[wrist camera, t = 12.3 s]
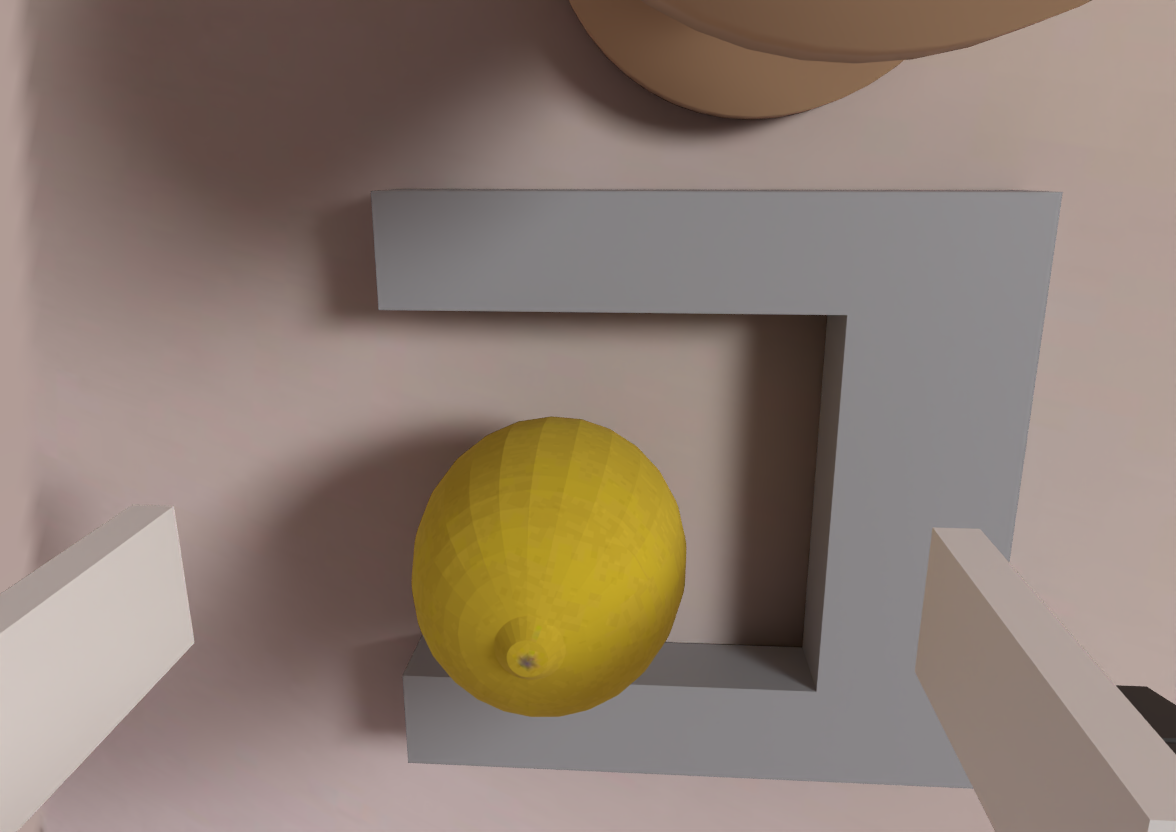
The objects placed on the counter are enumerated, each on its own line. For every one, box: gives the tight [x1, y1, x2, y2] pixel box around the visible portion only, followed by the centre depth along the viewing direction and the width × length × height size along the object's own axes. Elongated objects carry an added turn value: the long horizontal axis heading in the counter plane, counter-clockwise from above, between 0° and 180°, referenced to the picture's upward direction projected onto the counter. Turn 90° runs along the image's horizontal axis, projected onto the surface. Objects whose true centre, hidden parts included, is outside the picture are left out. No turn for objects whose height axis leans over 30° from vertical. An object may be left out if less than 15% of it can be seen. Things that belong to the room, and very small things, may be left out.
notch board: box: [371, 189, 1063, 789], centre depth 21 cm, size 14×14×2 cm
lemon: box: [412, 417, 686, 717], centre depth 18 cm, size 6×6×8 cm
